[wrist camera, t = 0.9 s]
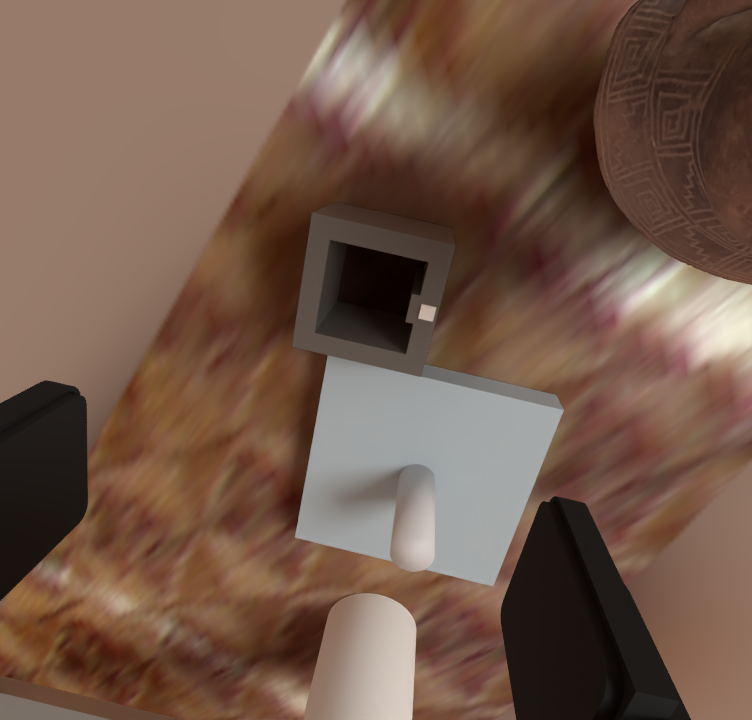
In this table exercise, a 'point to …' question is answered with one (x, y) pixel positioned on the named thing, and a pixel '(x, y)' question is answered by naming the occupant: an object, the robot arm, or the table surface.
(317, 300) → the square tunnel housing
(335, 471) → the shaft base
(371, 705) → the cylindrical container
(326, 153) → the table surface
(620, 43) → the clay figurine
